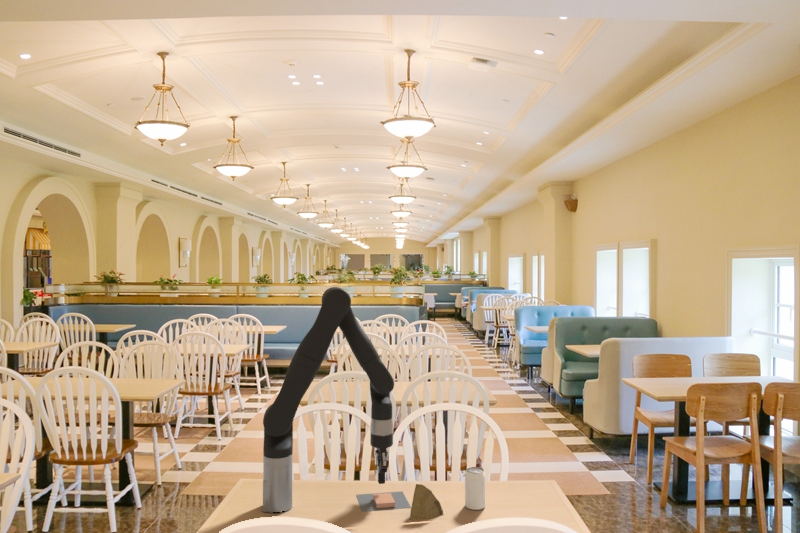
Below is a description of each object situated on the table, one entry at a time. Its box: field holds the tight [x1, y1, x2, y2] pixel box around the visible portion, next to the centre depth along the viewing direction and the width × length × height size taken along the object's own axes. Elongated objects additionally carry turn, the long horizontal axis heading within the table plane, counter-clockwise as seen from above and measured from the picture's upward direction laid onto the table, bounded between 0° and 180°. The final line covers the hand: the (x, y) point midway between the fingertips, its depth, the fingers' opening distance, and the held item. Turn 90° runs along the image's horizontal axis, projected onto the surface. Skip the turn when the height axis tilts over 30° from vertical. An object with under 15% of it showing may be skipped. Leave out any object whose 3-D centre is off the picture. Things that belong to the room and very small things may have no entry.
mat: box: [355, 491, 412, 513], centre depth 194 cm, size 16×14×1 cm
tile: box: [372, 492, 395, 508], centre depth 192 cm, size 6×2×8 cm
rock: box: [409, 483, 444, 520], centre depth 183 cm, size 11×9×10 cm
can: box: [464, 466, 486, 511], centre depth 191 cm, size 6×6×12 cm
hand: (381, 482), depth 197 cm, fingers closed
